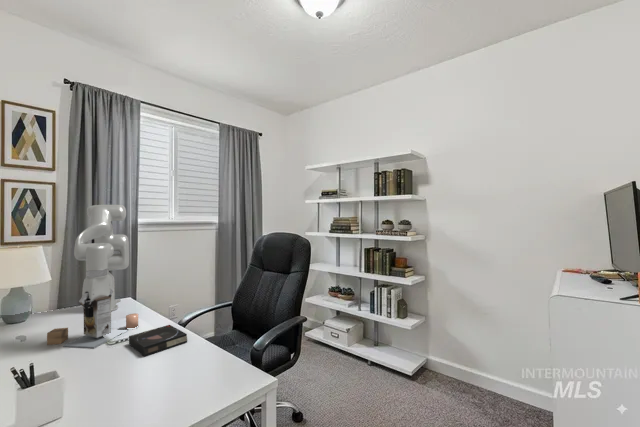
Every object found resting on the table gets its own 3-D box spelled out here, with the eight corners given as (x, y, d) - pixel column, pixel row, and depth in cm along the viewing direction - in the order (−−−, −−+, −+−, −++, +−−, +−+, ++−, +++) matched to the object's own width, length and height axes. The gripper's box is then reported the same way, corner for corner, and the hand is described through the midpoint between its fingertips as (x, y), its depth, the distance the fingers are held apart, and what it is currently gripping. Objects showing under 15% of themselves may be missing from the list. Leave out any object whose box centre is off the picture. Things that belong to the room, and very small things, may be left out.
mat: (100, 329, 141) (100, 328, 141) (127, 331, 139) (127, 329, 139) (63, 346, 123) (63, 345, 123) (94, 348, 121) (94, 346, 121)
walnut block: (54, 340, 130) (54, 328, 130) (68, 339, 131) (68, 327, 131) (47, 345, 125) (47, 333, 125) (61, 343, 126) (61, 332, 126)
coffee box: (82, 335, 130) (82, 297, 130) (98, 329, 136) (98, 294, 136) (96, 338, 127) (96, 300, 126) (112, 332, 133) (111, 296, 132)
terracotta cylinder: (131, 325, 146) (131, 313, 146) (140, 325, 145) (140, 313, 145) (123, 329, 141) (123, 316, 141) (133, 330, 141) (133, 317, 141)
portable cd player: (144, 358, 114) (144, 347, 114) (129, 345, 125) (128, 336, 125) (187, 343, 126) (187, 334, 126) (169, 333, 138) (169, 324, 138)
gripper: (105, 269, 140) (106, 307, 140) (70, 277, 123) (70, 320, 123) (120, 269, 139) (120, 307, 139) (87, 278, 122) (87, 321, 122)
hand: (97, 313), depth 131 cm, fingers closed on coffee box, 7 cm apart
